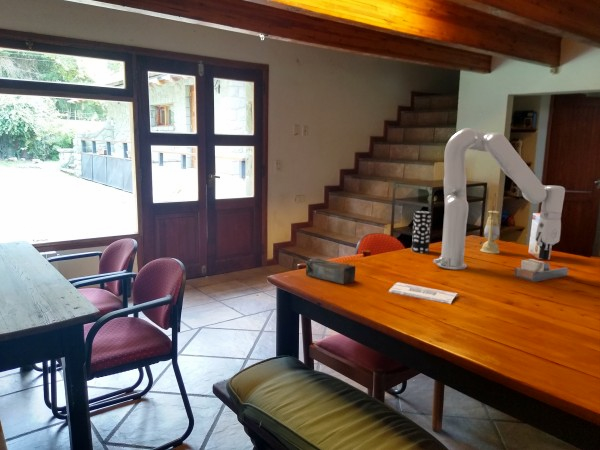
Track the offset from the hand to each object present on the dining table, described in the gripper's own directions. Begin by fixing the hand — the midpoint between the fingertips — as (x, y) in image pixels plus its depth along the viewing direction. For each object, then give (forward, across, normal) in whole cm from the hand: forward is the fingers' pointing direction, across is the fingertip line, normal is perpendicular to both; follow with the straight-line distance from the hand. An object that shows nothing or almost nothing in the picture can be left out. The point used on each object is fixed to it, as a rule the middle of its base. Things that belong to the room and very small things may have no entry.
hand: (543, 258), depth 191 cm
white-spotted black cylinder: (+9, -17, +54) cm, 57 cm away
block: (+7, -9, -1) cm, 11 cm away
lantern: (+8, +16, +39) cm, 42 cm away
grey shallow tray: (+7, -2, -1) cm, 7 cm away
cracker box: (+7, +30, +21) cm, 37 cm away
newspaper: (+9, -64, +3) cm, 65 cm away
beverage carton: (+10, -84, +33) cm, 91 cm away
